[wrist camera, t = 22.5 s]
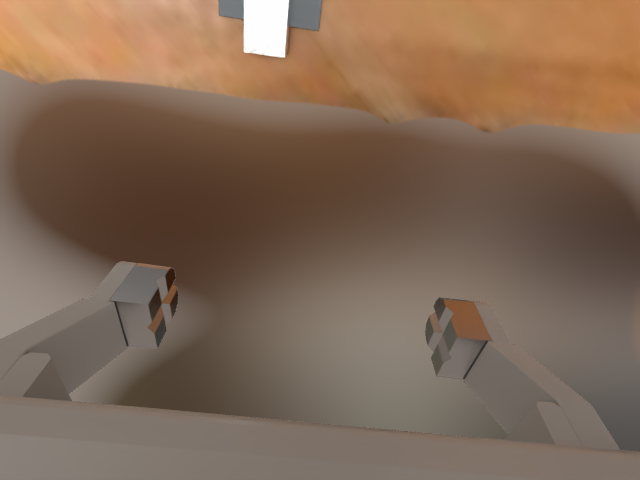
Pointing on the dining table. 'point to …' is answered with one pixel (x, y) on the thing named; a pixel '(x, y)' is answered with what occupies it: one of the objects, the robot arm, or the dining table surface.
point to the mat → (301, 15)
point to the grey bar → (267, 27)
